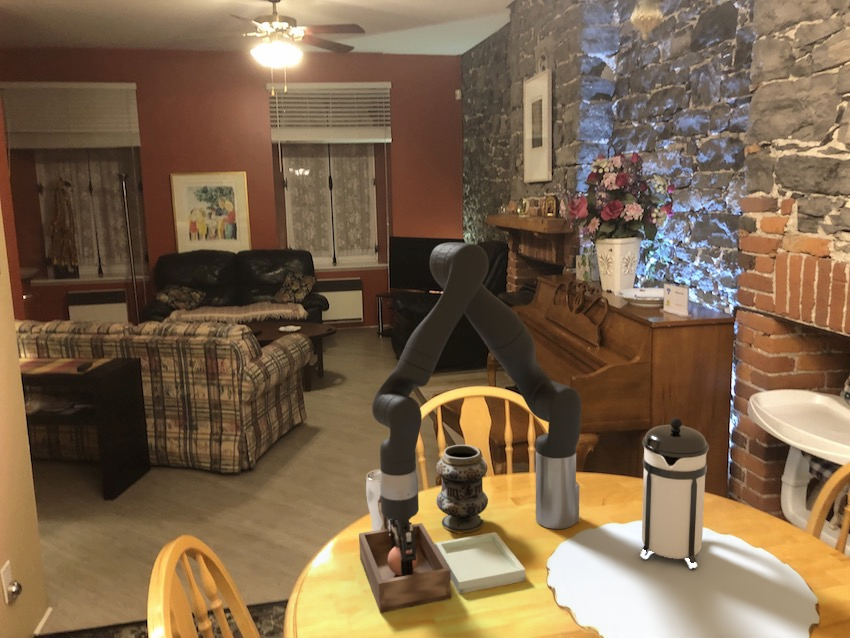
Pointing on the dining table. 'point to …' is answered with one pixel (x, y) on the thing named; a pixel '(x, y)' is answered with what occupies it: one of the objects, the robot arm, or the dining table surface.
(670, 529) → the coffee press
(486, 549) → the tray
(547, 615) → the dining table surface
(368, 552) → the crate
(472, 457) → the apothecary jar
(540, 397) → the robot arm
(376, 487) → the beer glass
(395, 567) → the ball
